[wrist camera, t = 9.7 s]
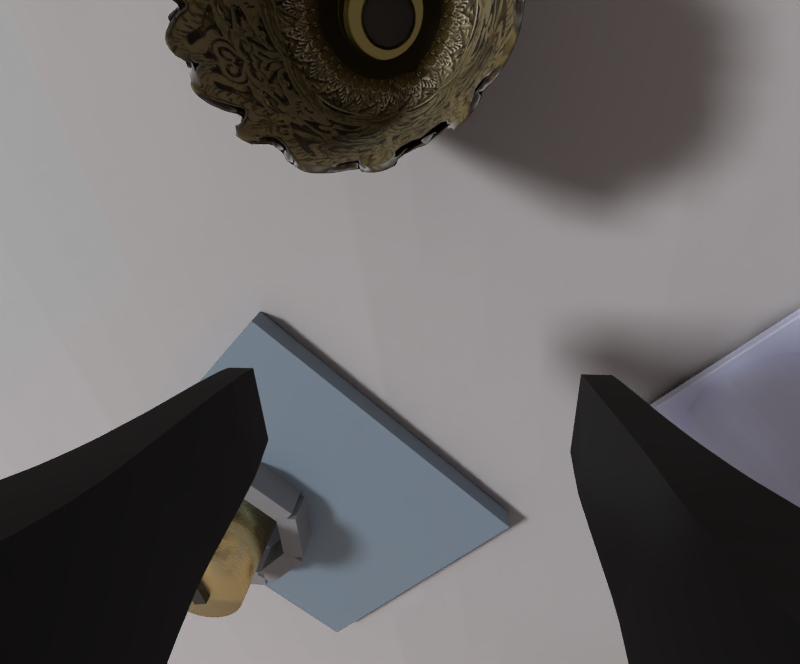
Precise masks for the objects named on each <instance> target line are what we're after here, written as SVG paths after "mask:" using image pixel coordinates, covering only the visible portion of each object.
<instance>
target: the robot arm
mask: <svg viewBox="0 0 800 664" xmlns="http://www.w3.org/2000/svg"><path fill="white" fill-rule="evenodd" d="M268 440H269V439H268V435H267V430H266V425H265V421H264V416H263V411H262V406H261V402H260V397H259V392H258V388H257V383H256V378H255V374H254V369H253V368H226V369H224V370H221V371H219V372H217V373H215V374H213V375H211V376H209V377H208V378H206V379H204V380H202V381H200V382H199V383H197V384H195V385H193V386H191V387H190V388H188V389H186V390H184V391H183V392H181V393H179V394H177V395H176V396H174V397H172V398H170V399H169V400H167V401H165V402H163V403H162V404H160V405H158V406H156V407H155V408H153V409H151V410H149V411H148V412H146V413H144V414H142V415H140V416H138V417H136V418H135V419H133V420H131V421H129V422H127V423H125V424H123V425H121V426H120V427H118V428H116V429H114V430H112V431H110V432H108V433H106V434H104V435H103V436H101V437H99V438H97V439H95V440H93V441H91V442H89V443H86V444H84V445H82V446H80V447H78V448H76V449H74V450H72V451H69V452H67V453H65V454H63V455H60V456H58V457H56V458H54V459H51V460H49V461H47V462H45V463H42V464H40V465H37V466H35V467H33V468H30V469H28V470H25V471H22V472H20V473H17V474H15V475H12V476H9V477H7V478H4V479H1V480H0V664H167V662H168V659H169V657H170V654H171V651H172V649H173V646H174V644H175V641H176V638H177V636H178V633H179V631H180V629H181V626H182V624H183V621H184V619H185V616H186V614H187V612H188V609H189V607H190V604H191V602H192V600H193V597H194V595H195V592H196V590H197V588H198V585H199V583H200V581H201V579H202V577H203V575H204V573H205V571H206V569H207V567H208V565H209V563H210V561H211V559H212V558H213V556H214V554H215V552H216V550H217V548H218V546H219V545H220V543H221V541H222V539H223V537H224V535H225V533H226V532H227V530H228V528H229V526H230V524H231V522H232V520H233V518H234V517H235V515H236V513H237V511H238V509H239V507H240V505H241V503H242V502H243V500H244V498H245V496H246V494H247V492H248V490H249V488H250V486H251V484H252V482H253V480H254V478H255V476H256V473H257V471H258V468H259V465H260V463H261V460H262V457H263V454H264V451H265V449H266V446H267V443H268ZM570 452H571V457H572V463H573V469H574V474H575V479H576V484H577V489H578V494H579V497H580V501H581V504H582V507H583V510H584V513H585V516H586V519H587V522H588V525H589V529H590V532H591V535H592V538H593V541H594V544H595V547H596V550H597V553H598V556H599V559H600V562H601V565H602V568H603V571H604V574H605V577H606V580H607V583H608V586H609V589H610V592H611V595H612V598H613V602H614V605H615V609H616V612H617V616H618V619H619V623H620V627H621V632H622V636H623V641H624V645H625V649H626V654H627V658H628V663H629V664H800V308H799V309H798V310H796V311H795V312H793V313H792V314H790V315H789V316H787V317H786V318H784V319H782V320H781V321H779V322H778V323H776V324H775V325H773V326H772V327H770V328H768V329H767V330H765V331H764V332H762V333H761V334H759V335H758V336H756V337H754V338H753V339H751V340H750V341H748V342H747V343H745V344H744V345H742V346H740V347H739V348H737V349H736V350H734V351H733V352H731V353H730V354H728V355H727V356H725V357H723V358H722V359H720V360H719V361H717V362H716V363H714V364H713V365H711V366H709V367H708V368H706V369H705V370H703V371H702V372H700V373H699V374H697V375H695V376H694V377H692V378H691V379H689V380H688V381H686V382H685V383H683V384H681V385H680V386H678V387H677V388H675V389H674V390H672V391H671V392H669V393H668V394H666V395H664V396H663V397H661V398H660V399H658V400H657V401H655V402H654V403H652V404H650V405H649V404H648V403H647V402H645V401H644V400H643V399H642V398H640V397H639V396H638V395H637V394H635V393H634V392H633V391H632V390H631V389H629V388H628V387H627V386H626V385H624V384H623V383H622V382H620V381H619V380H618V379H616V378H615V377H614V376H612V375H581V379H580V387H579V394H578V401H577V408H576V415H575V423H574V430H573V437H572V444H571V451H570Z"/></svg>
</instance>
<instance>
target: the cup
mask: <svg viewBox="0 0 800 664" xmlns="http://www.w3.org/2000/svg"><path fill="white" fill-rule="evenodd" d="M173 1H175V2H176V3H177V4H178V6H179V8H178V7H177V8H176V9H175V10H174V11H172V13H170V14H169V16H168V18H169V21H170V23H169V26H168V28H167V31H166V36H165V40H166V44H167V45H168V47H169V49H170V50H171V51H172V52H173V53H174V55H175V56H177V57H179V58H181V59H183V60H184V61H186V64H187V66H188V67H189V68H191V72H190V77H191V87H192V89H193V91H194V92H195V93H196V94H197V95H198V96H199V97H200V98H201V99H203V100H204V101H205V102H207V103H209V104H210V105H212V106H215V107H217V108H219V109H221V110H224V111H227V112H232V113H236V114H239V115H240V116H241V117H242V120H241V123H240V124H239V125H238V126H237V125H236V136H237V137H239V138H240V139H242V140H243V141H245V142H248V143H250V144H270V145H274V146H275V147H276V148H278V149H279V150H280V151H281V152H282V153H283V154H284V156H285V158H286V160H287V161H288V162H290V163H291V164H292V165H294V166H295V167H297V168H298V169H300V170H302V171H304V172H308V173H335V172H341V171H346V170H354V169H360V170H361V171H362V172H380V171H384V170H386V169H389V168H391V167H393V166H395V165H396V163H397V160H398V159H399V158H400V157H401V156H403V155H404V154H406V153H408V152H410V151H412V150H414V149H416V148H418V147H422V146H425V145H426V144H428V143H429V142H430V141H431V140H432V139H433V138H435V137H436V136H438V135H439V134H440V133H442V132H443V131H444V130H446V129H449V128H452V129H453V130H455V129H456V128H457V127H459V126H460V125H461V124H462V123H463V122H464V121H465V120H466V119H467V118H468V117H469V116H470V114H471V113H472V112H473V111H474V109H475V108H476V106H477V105H478V103H479V101H480V99H481V96H482V94H483V92H484V91H485V90H486V89H487V87H488V86H489V85H490V84H491V83H492V82H493V81H494V79H495V78H496V77H497V76H498V74H499V73H500V71H501V70H502V68H503V67H504V65H505V63H506V62H507V60H508V58H509V56H510V54H511V52H512V50H513V48H514V46H515V43H516V41H517V38H518V35H519V32H520V28H521V23H522V18H523V11H524V4H525V0H408V1H409V3H410V5H411V8H412V14H413V21H412V26H411V29H410V32H409V34H408V35H407V37H406V38H405V39H404V40H403V41H402V42H401V43H399V44H398V45H395V46H391V47H385V46H381V45H378V44H377V43H375V42H374V41H373V40H372V39H371V38H370V37H369V35H368V34H367V32H366V29H365V26H364V21H363V14H364V8H365V5H366V3H367V1H368V0H173Z"/></svg>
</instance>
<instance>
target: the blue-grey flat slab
mask: <svg viewBox="0 0 800 664" xmlns="http://www.w3.org/2000/svg"><path fill="white" fill-rule="evenodd" d="M226 368H253V369H254V374H255V378H256V383H257V388H258V392H259V397H260V402H261V406H262V411H263V416H264V421H265V425H266V430H267V435H268V439H269V440H268V443H267V446H266V449H265V451H264V454H263V457H262V460H261V463H260V465H259V468H258V471H257V473H256V476H255V478H254V480H253V482H252V484H251V486H250V488H249V490H248V492H247V494H246V496H245V498H244V499H245V500H246V501H248V502H249V503H251V504H252V505H254V506H255V507H256V508H258V509H259V510H261V511H262V512H264V513H265V514H267V515H268V516H269V517H271V518H272V519H274V520H275V521H277V522H276V526H275V528H274V530H273V533H272V535H271V537H270V540H269V542H268V544H267V547H266V549H265V551H264V554H263V556H262V558H261V561H260V563H259V565H258V568H257V570H256V572H255V574H254V577H253V579H252V581H251V584H260V585H265V586H267V587H268V588H270V589H271V590H273V591H275V592H276V593H278V594H279V595H281V596H282V597H284V598H285V599H287V600H288V601H290V602H291V603H293V604H294V605H296V606H298V607H299V608H301V609H302V610H304V611H305V612H307V613H308V614H310V615H311V616H313V617H314V618H316V619H317V620H319V621H321V622H322V623H324V624H325V625H327V626H328V627H330V628H331V629H333V630H334V631H336V632H338V631H340V630H342V629H343V628H345V627H347V626H348V625H350V624H352V623H353V622H355V621H357V620H358V619H360V618H361V617H363V616H365V615H366V614H368V613H370V612H371V611H373V610H375V609H376V608H378V607H380V606H381V605H383V604H384V603H386V602H388V601H389V600H391V599H393V598H394V597H396V596H398V595H399V594H401V593H403V592H404V591H406V590H407V589H409V588H411V587H412V586H414V585H416V584H417V583H419V582H421V581H422V580H424V579H426V578H427V577H429V576H430V575H432V574H434V573H435V572H437V571H439V570H440V569H442V568H444V567H445V566H447V565H449V564H450V563H452V562H453V561H455V560H457V559H458V558H460V557H462V556H463V555H465V554H467V553H468V552H470V551H472V550H473V549H475V548H476V547H478V546H480V545H481V544H483V543H485V542H486V541H488V540H490V539H491V538H493V537H495V536H496V535H498V534H499V533H501V532H503V531H504V530H506V529H508V528H509V518H508V511H506V510H505V509H504V508H503V507H501V506H500V505H499V504H498V503H496V502H495V501H494V500H493V499H491V498H490V497H489V496H488V495H487V494H485V493H484V492H483V491H482V490H480V489H479V488H478V487H477V486H475V485H474V484H473V483H472V482H470V481H469V480H468V479H467V478H466V477H464V476H463V475H462V474H461V473H459V472H458V471H457V470H456V469H454V468H453V467H452V466H451V465H449V464H448V463H447V462H446V461H445V460H443V459H442V458H441V457H440V456H438V455H437V454H436V453H435V452H433V451H432V450H431V449H430V448H428V447H427V446H426V445H425V444H424V443H422V442H421V441H420V440H419V439H417V438H416V437H415V436H414V435H412V434H411V433H410V432H409V431H407V430H406V429H405V428H404V427H403V426H401V425H400V424H399V423H398V422H396V421H395V420H394V419H393V418H391V417H390V416H389V415H388V414H386V413H385V412H384V411H383V410H382V409H380V408H379V407H378V406H377V405H375V404H374V403H373V402H372V401H370V400H369V399H368V398H367V397H365V396H364V395H363V394H362V393H360V392H359V391H358V390H357V389H356V388H354V387H353V386H352V385H351V384H349V383H348V382H347V381H346V380H344V379H343V378H342V377H341V376H339V375H338V374H337V373H336V372H335V371H333V370H332V369H331V368H330V367H328V366H327V365H326V364H325V363H323V362H322V361H321V360H320V359H318V358H317V357H316V356H315V355H314V354H312V353H311V352H310V351H309V350H307V349H306V348H305V347H304V346H302V345H301V344H300V343H299V342H297V341H296V340H295V339H294V338H293V337H291V336H290V335H289V334H288V333H286V332H285V331H284V330H283V329H281V328H280V327H279V326H278V325H276V324H275V323H274V322H273V321H272V320H270V319H269V318H268V317H267V316H265V315H264V314H263V313H262V312H259V314H258V315H257V316H256V317H255V318H254V319H253V320H252V321H251V322H250V324H249V325H248V326H247V327H246V328H245V329H244V331H243V332H242V333H241V334H240V335H239V336H238V338H237V339H236V340H235V341H234V342H233V343H232V345H231V346H230V347H229V348H228V349H227V350H226V352H225V353H224V354H223V355H222V356H221V357H220V359H219V360H218V361H217V362H216V363H215V364H214V366H213V367H212V368H211V369H210V370H209V371H208V373H207V374H206V375H205V376H204V377H203V378H202V380H204V379H206V378H208V377H209V376H211V375H213V374H215V373H217V372H219V371H221V370H224V369H226ZM202 380H201V381H202Z"/></svg>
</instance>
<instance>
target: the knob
mask: <svg viewBox="0 0 800 664" xmlns="http://www.w3.org/2000/svg"><path fill="white" fill-rule="evenodd" d="M276 522H277V521H275V520H274V519H272V518H271V517H269V516H268V515H267V514H265V513H264V512H262V511H261V510H259V509H258V508H256V507H255V506H254V505H252V504H251V503H249V502H248V501H246V500H245V499H244V500H243V502H242V503H241V505H240V507H239V509H238V511H237V513H236V515H235V517H234V518H233V520H232V522H231V524H230V526H229V528H228V530H227V532H226V533H225V535H224V537H223V539H222V541H221V543H220V545H219V546H218V548H217V550H216V552H215V554H214V556H213V558H212V559H211V561H210V563H209V565H208V567H207V569H206V571H205V573H204V575H203V577H202V579H201V581H200V583H199V585H198V588H197V590H196V592H195V595H194V597H193V600H192V602H191V604H190V607H189V609H188V612H191V613H193V614H197V615H200V616H206V617H223V616H227V615H230V614H232V613H234V612H236V611H237V610H238V609H239V608H240V606H241V605H242V602H243V600H244V598H245V595H246V593H247V591H248V588H249V586H250V584H251V581H252V579H253V577H254V574H255V572H256V570H257V568H258V565H259V563H260V561H261V558H262V556H263V554H264V551H265V549H266V547H267V544H268V542H269V540H270V537H271V535H272V533H273V530H274V528H275V526H276Z"/></svg>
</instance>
